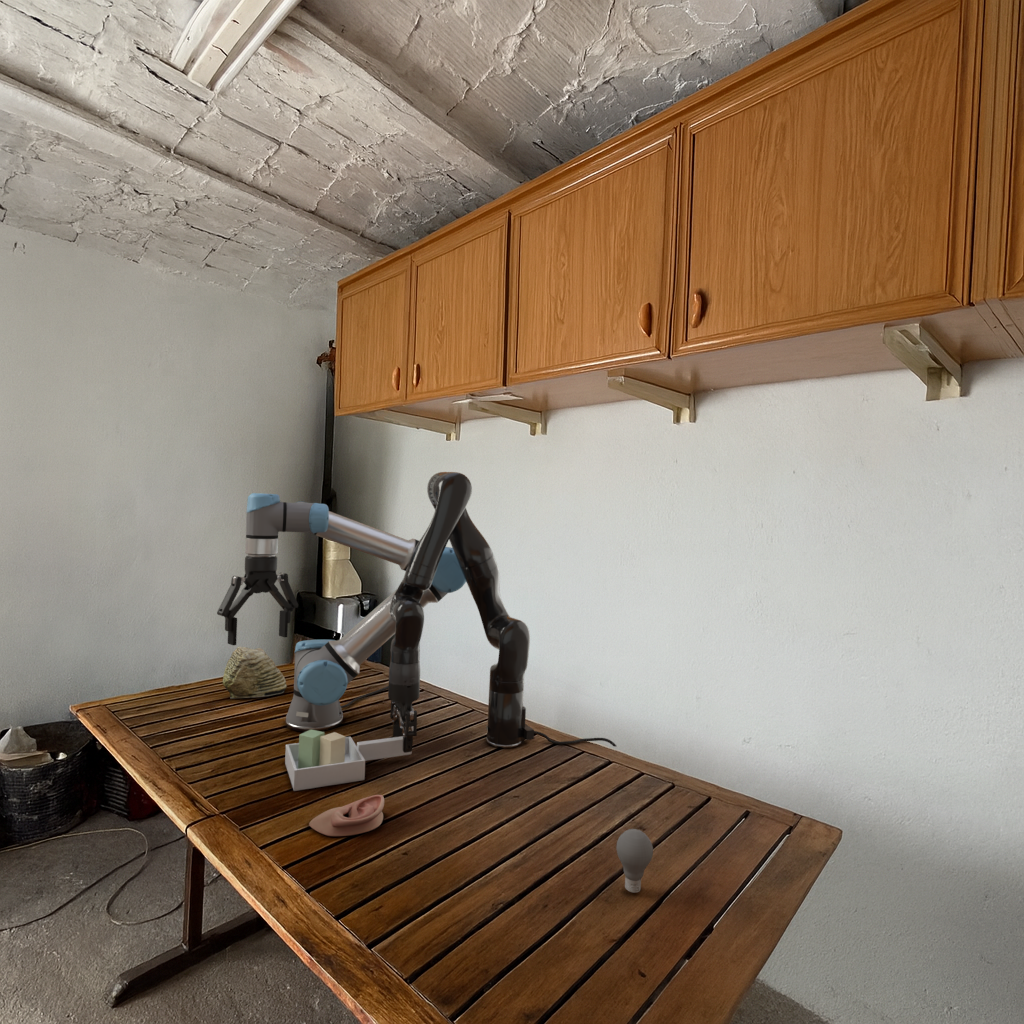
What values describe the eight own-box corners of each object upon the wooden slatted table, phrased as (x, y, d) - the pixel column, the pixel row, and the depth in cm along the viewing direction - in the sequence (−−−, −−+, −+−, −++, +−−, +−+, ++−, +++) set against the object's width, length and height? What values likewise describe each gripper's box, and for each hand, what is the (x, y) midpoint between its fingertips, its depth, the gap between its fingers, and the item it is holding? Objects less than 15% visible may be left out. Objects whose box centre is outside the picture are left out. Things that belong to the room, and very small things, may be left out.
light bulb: (610, 879, 108) (613, 822, 108) (644, 879, 109) (647, 822, 109) (619, 902, 102) (622, 840, 102) (655, 901, 103) (658, 840, 103)
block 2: (333, 765, 148) (334, 731, 148) (344, 770, 146) (345, 736, 146) (318, 771, 145) (320, 736, 145) (329, 776, 142) (331, 741, 142)
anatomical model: (301, 810, 119) (330, 784, 130) (300, 831, 119) (330, 803, 131) (367, 821, 117) (391, 793, 128) (366, 842, 117) (390, 813, 128)
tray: (293, 791, 136) (294, 765, 136) (285, 763, 149) (285, 740, 149) (419, 771, 148) (420, 748, 148) (401, 747, 162) (402, 726, 162)
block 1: (309, 762, 149) (311, 729, 149) (323, 766, 148) (324, 732, 147) (297, 769, 145) (299, 734, 145) (311, 772, 144) (312, 737, 144)
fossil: (218, 695, 195) (220, 647, 195) (278, 685, 208) (279, 640, 207) (228, 703, 189) (230, 653, 188) (289, 692, 201) (290, 645, 201)
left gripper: (297, 552, 170) (294, 631, 170) (203, 556, 150) (200, 645, 150) (313, 554, 165) (310, 635, 165) (219, 558, 145) (216, 650, 146)
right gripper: (381, 672, 158) (379, 736, 159) (397, 689, 146) (395, 758, 146) (410, 670, 162) (408, 732, 162) (428, 685, 149) (426, 754, 149)
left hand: (258, 640), depth 158 cm, fingers open, 13 cm apart
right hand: (402, 745), depth 154 cm, fingers open, 8 cm apart
